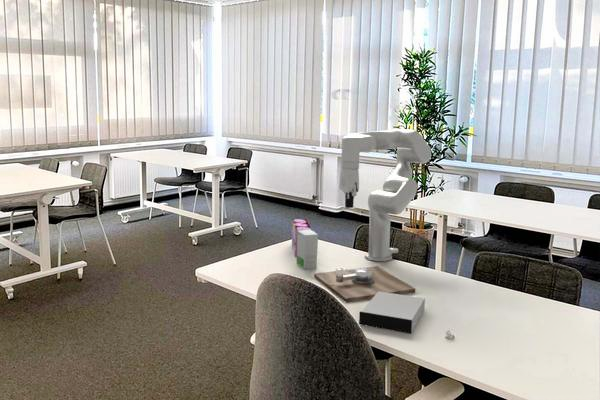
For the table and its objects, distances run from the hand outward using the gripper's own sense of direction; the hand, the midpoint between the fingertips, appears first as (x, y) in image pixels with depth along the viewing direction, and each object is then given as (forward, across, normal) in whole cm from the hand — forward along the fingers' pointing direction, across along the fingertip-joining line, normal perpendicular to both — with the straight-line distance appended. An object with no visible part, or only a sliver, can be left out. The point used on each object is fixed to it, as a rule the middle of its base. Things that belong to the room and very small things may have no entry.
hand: (349, 207), depth 247 cm
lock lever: (+24, +22, -9) cm, 34 cm away
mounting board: (+27, +22, -4) cm, 35 cm away
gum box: (+27, -31, -10) cm, 42 cm away
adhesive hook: (+28, +77, -1) cm, 81 cm away
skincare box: (+27, -8, -16) cm, 33 cm away
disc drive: (+28, +55, -10) cm, 62 cm away
